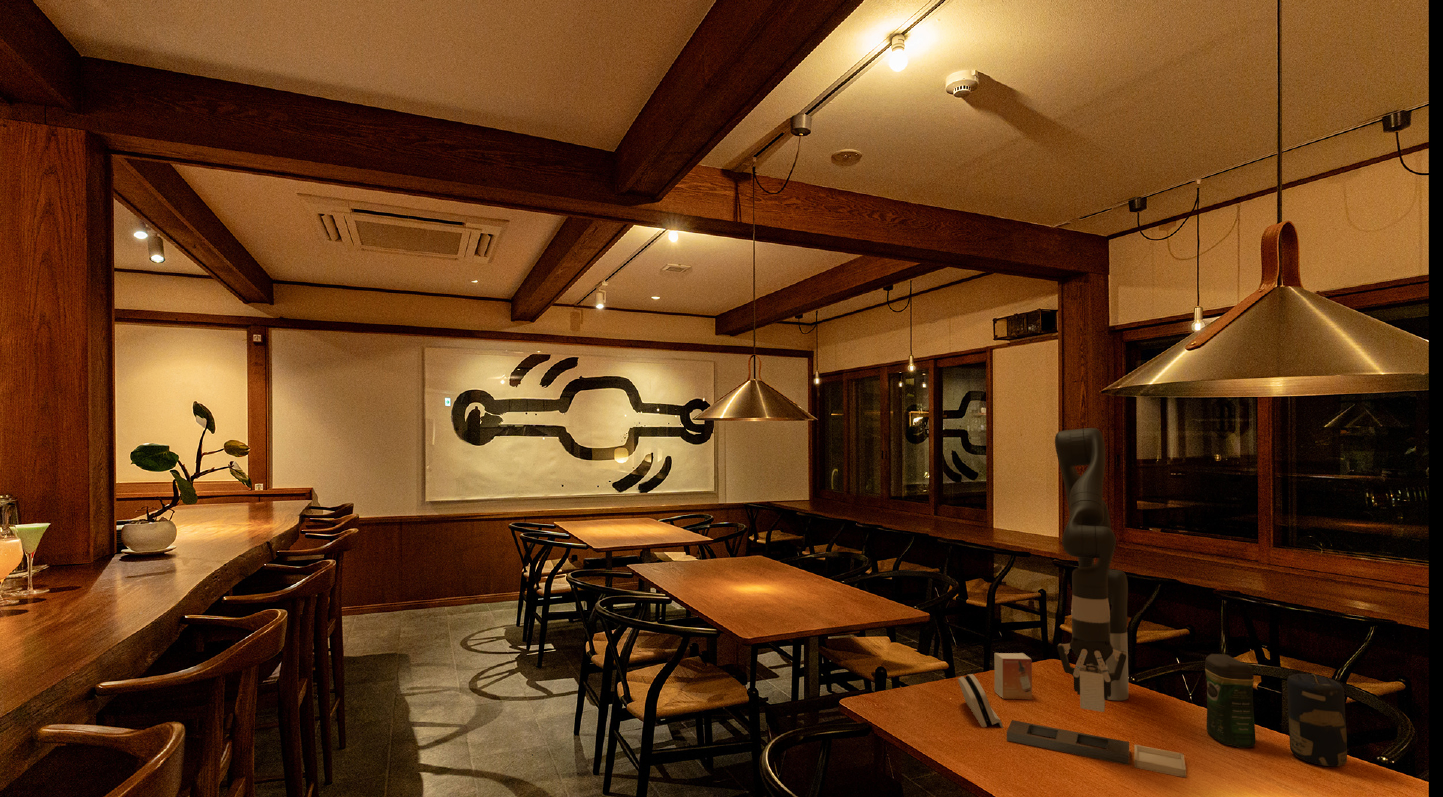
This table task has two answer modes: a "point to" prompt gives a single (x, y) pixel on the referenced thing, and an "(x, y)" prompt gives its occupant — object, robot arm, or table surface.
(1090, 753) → the rack rail
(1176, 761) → the parts tray
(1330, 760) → the canister
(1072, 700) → the table surface
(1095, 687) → the grey rectangular block
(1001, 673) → the small box
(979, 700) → the beige device enclosure
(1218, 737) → the coffee jar
